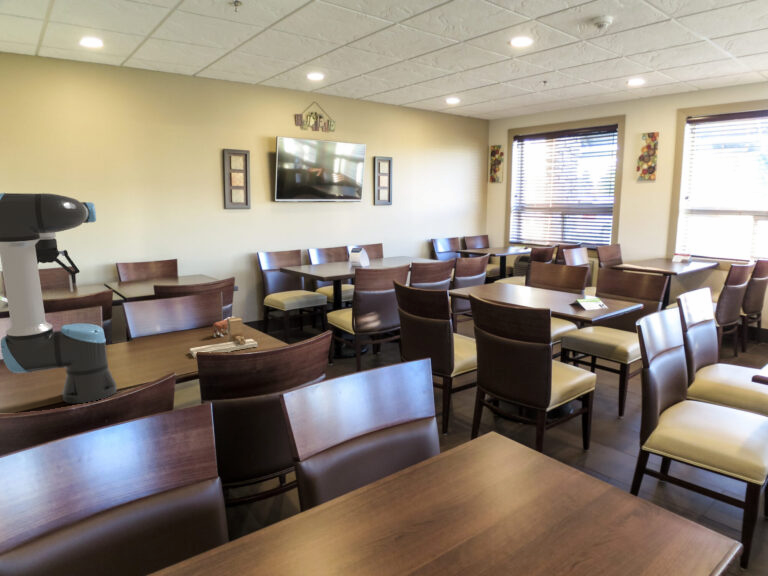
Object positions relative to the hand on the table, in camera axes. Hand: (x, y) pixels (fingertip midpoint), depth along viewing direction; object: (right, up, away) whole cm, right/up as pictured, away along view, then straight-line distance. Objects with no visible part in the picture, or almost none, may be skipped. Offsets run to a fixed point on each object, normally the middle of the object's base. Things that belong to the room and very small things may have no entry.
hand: (51, 293), depth 192 cm
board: (+62, -24, +17) cm, 68 cm away
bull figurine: (+55, -20, +40) cm, 71 cm away
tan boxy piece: (+66, -23, +23) cm, 74 cm away
